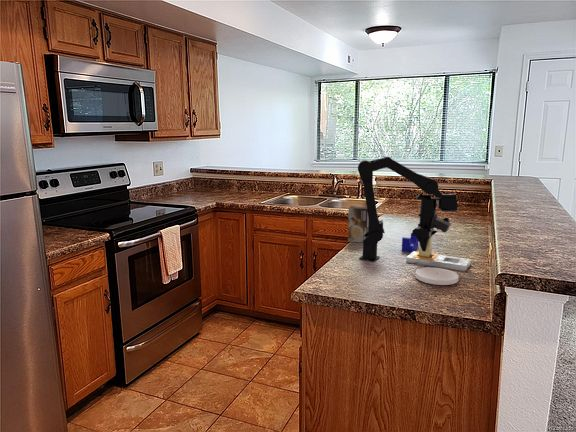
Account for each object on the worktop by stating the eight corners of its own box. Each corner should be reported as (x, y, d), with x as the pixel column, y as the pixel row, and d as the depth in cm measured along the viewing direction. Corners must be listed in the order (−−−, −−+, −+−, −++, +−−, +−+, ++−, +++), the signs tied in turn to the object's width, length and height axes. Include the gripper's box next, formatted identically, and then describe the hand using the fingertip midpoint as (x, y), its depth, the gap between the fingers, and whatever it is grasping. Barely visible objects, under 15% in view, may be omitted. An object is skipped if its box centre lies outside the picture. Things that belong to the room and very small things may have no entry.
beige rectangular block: (428, 259, 167) (430, 236, 166) (418, 257, 170) (419, 235, 168) (431, 256, 171) (433, 234, 169) (421, 255, 173) (422, 233, 171)
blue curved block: (411, 252, 183) (412, 239, 182) (401, 251, 185) (402, 237, 184) (421, 246, 192) (422, 233, 191) (411, 245, 195) (412, 232, 194)
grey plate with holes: (465, 271, 158) (466, 265, 158) (406, 261, 169) (406, 256, 169) (470, 264, 166) (470, 258, 166) (413, 255, 178) (413, 250, 177)
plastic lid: (466, 286, 144) (467, 278, 143) (428, 289, 141) (428, 282, 140) (443, 273, 157) (443, 266, 157) (408, 275, 154) (408, 268, 154)
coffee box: (369, 240, 204) (370, 206, 201) (367, 243, 198) (368, 208, 195) (350, 238, 207) (351, 205, 204) (347, 241, 201) (348, 207, 198)
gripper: (444, 217, 155) (441, 258, 158) (454, 209, 170) (451, 247, 173) (413, 213, 160) (410, 254, 163) (426, 206, 176) (423, 243, 179)
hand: (425, 249), depth 170 cm, fingers closed on beige rectangular block, 4 cm apart
